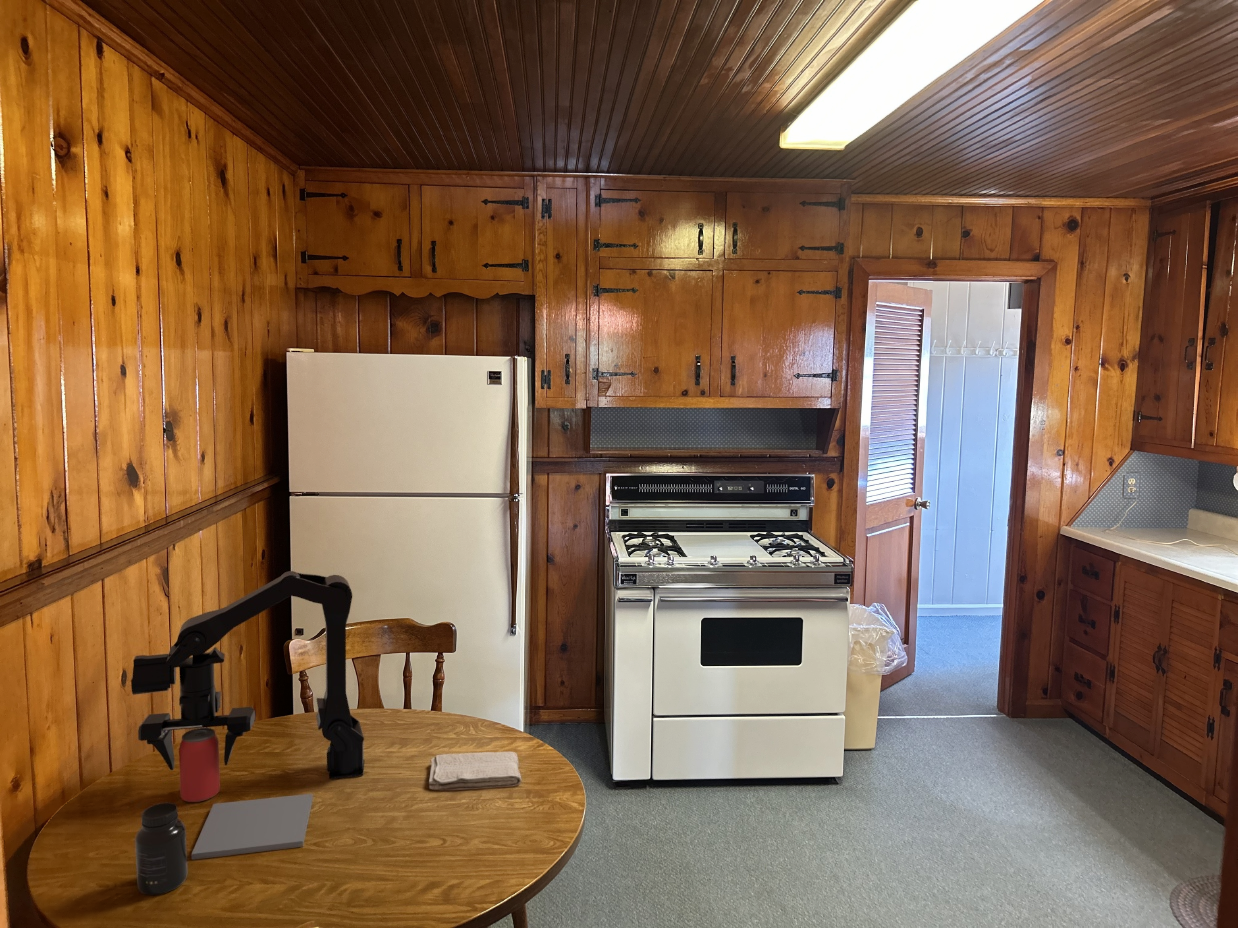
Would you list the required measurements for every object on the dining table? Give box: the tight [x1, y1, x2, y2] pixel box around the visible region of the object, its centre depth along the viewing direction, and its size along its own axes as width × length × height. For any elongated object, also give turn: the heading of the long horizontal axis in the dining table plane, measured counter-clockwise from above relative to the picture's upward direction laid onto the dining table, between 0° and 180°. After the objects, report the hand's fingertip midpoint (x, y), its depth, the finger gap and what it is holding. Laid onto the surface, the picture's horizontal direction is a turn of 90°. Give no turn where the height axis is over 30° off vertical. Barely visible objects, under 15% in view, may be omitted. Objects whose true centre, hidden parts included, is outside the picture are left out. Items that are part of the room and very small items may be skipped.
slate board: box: [191, 793, 314, 861], centre depth 141 cm, size 17×16×1 cm
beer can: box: [178, 727, 221, 803], centre depth 151 cm, size 7×7×12 cm
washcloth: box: [428, 751, 523, 791], centre depth 162 cm, size 12×18×3 cm, turn 101°
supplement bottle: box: [134, 802, 188, 896], centre depth 124 cm, size 7×7×12 cm
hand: (199, 766), depth 151 cm, fingers open, 9 cm apart
